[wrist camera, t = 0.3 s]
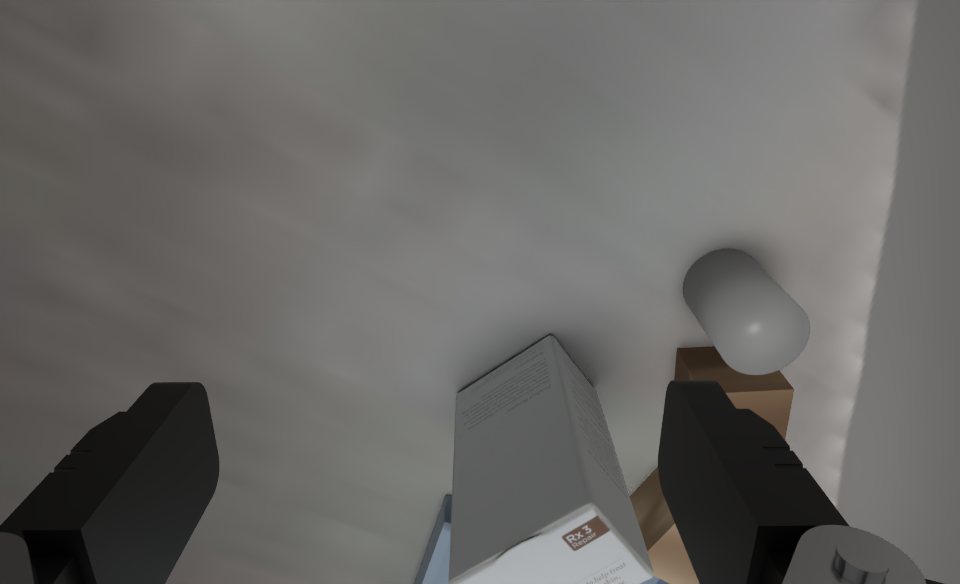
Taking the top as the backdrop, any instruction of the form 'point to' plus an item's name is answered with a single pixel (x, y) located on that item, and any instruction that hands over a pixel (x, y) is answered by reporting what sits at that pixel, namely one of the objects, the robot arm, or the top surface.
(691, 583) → the beech block
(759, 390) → the walnut block
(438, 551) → the tray
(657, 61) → the top surface
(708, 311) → the grey capsule
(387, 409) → the top surface
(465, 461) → the skincare box
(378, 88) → the top surface
